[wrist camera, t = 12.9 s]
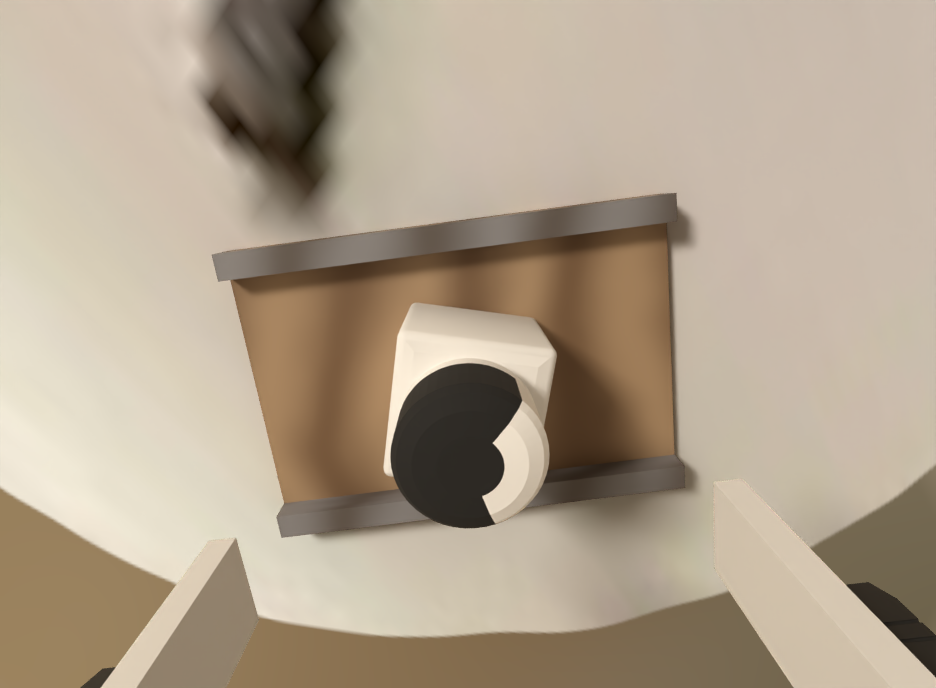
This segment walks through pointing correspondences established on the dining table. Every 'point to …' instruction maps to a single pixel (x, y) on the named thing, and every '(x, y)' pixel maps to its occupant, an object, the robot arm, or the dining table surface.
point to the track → (476, 288)
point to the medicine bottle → (469, 414)
